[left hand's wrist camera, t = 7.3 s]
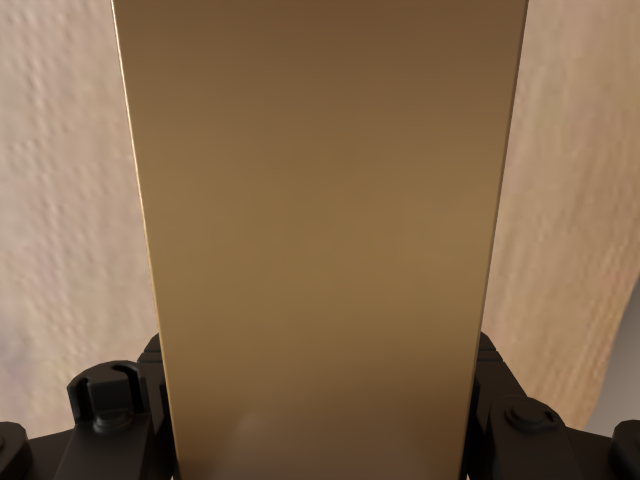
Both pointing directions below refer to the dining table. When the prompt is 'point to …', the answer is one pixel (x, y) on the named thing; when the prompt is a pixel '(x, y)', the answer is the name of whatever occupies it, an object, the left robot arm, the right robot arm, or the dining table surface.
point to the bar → (319, 224)
